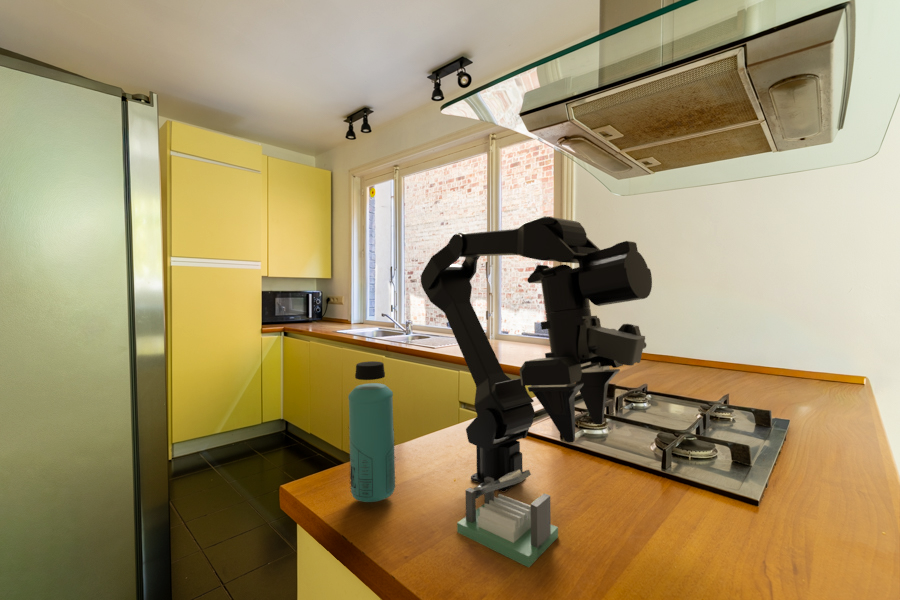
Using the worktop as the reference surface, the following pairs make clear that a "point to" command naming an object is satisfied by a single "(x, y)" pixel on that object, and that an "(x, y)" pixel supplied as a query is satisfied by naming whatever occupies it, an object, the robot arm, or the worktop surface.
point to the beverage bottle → (371, 436)
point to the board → (509, 525)
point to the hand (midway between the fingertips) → (585, 432)
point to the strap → (502, 482)
